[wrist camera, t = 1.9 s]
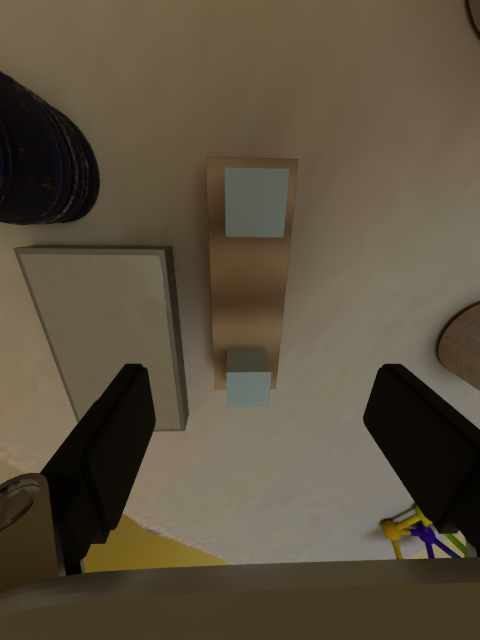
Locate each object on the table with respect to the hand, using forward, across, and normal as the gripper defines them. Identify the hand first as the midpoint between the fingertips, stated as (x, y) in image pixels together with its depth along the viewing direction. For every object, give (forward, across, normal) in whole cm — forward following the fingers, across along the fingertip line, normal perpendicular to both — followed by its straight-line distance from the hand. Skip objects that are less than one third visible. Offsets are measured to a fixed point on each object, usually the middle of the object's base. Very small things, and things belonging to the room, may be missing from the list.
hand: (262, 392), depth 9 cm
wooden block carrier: (+19, 0, 0) cm, 19 cm away
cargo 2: (+13, 0, +8) cm, 15 cm away
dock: (+18, +15, +8) cm, 25 cm away
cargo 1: (+13, 0, -8) cm, 15 cm away
